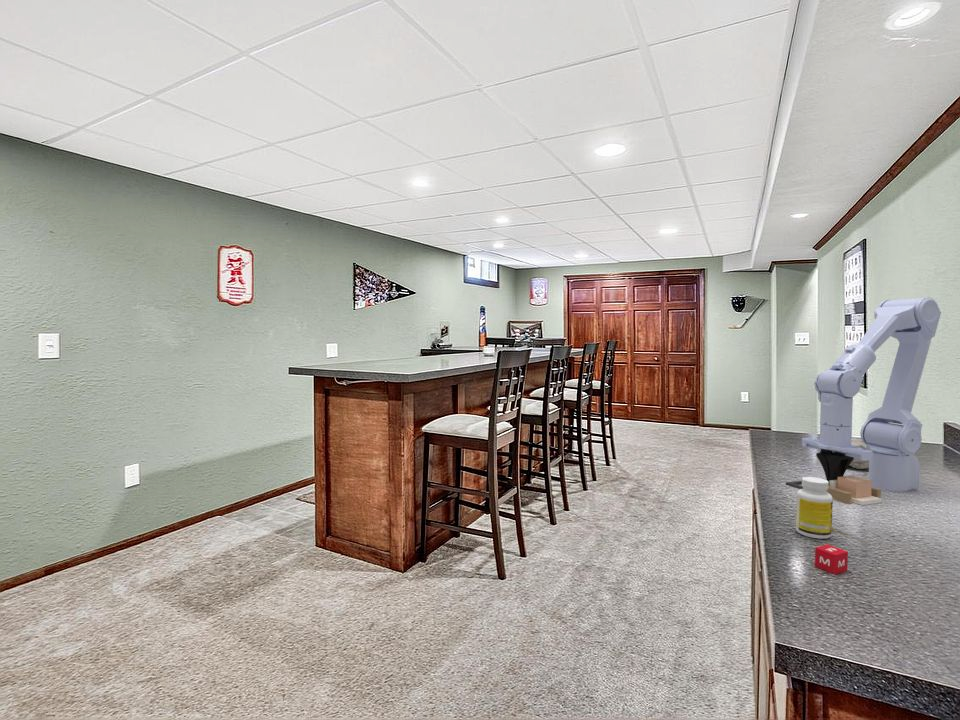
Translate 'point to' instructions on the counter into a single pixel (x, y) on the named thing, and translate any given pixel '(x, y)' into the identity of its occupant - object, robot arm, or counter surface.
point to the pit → (795, 484)
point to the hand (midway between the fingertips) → (833, 485)
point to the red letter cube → (831, 559)
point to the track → (849, 494)
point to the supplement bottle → (814, 509)
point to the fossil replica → (858, 462)
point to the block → (855, 486)
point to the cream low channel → (859, 500)
